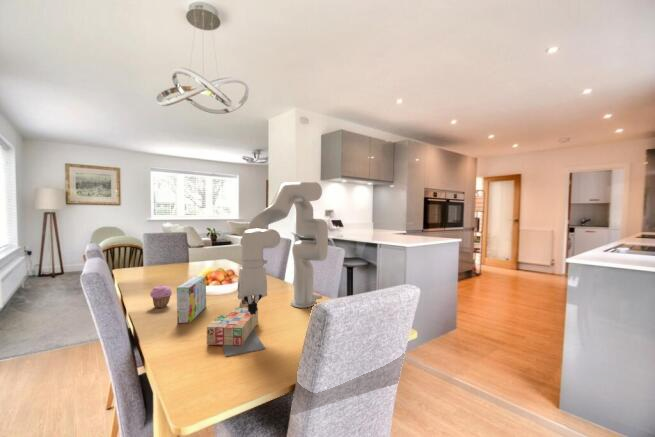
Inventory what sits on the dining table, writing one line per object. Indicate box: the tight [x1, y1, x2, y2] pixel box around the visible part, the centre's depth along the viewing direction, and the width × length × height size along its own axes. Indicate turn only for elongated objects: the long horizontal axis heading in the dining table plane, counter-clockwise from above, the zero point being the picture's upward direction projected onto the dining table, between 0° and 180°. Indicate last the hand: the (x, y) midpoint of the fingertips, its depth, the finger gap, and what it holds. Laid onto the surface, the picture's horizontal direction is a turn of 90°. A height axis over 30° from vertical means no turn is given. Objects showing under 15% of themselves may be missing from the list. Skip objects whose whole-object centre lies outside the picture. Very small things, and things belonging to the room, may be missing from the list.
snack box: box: [176, 275, 207, 324], centre depth 132 cm, size 21×6×15 cm, turn 5°
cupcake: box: [149, 285, 172, 309], centre depth 143 cm, size 9×9×10 cm
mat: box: [221, 328, 266, 358], centre depth 109 cm, size 13×26×1 cm, turn 26°
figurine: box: [238, 295, 254, 308], centre depth 130 cm, size 7×7×12 cm
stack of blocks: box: [206, 307, 259, 346], centre depth 112 cm, size 21×6×12 cm
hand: (252, 313), depth 111 cm, fingers closed
